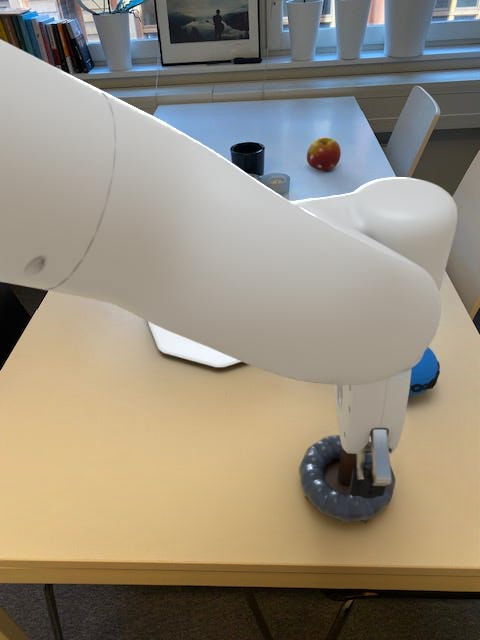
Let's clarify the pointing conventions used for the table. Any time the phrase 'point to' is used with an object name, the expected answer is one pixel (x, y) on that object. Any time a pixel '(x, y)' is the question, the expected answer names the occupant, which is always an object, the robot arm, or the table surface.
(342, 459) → the stand
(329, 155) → the fruit
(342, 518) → the ring
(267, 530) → the table surface
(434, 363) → the ornament
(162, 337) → the plate
